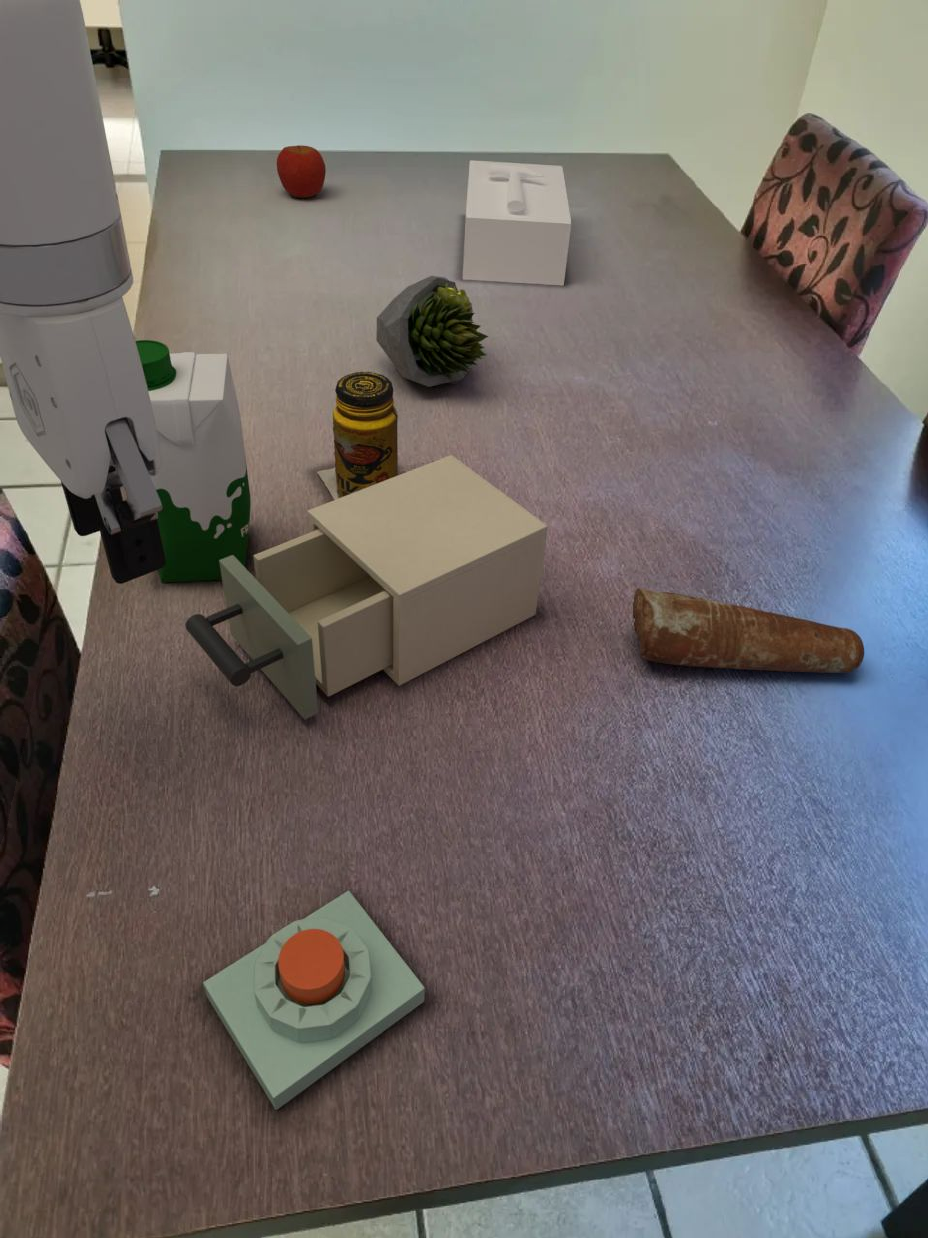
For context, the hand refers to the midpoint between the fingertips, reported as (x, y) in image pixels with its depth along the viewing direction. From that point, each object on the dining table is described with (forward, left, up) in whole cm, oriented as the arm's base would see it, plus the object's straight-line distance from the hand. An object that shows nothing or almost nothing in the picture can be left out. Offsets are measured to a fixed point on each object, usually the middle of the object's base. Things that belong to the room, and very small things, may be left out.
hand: (120, 547), depth 58 cm
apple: (+69, +94, -18) cm, 118 cm away
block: (-2, -24, -17) cm, 30 cm away
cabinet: (+24, 0, -17) cm, 30 cm away
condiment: (+30, +18, -18) cm, 39 cm away
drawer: (+13, 0, -16) cm, 21 cm away
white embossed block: (+84, +58, -18) cm, 104 cm away
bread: (+42, -20, -18) cm, 50 cm away
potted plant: (+50, +32, -18) cm, 62 cm away
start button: (-2, -24, -14) cm, 28 cm away
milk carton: (+12, +17, -18) cm, 27 cm away
